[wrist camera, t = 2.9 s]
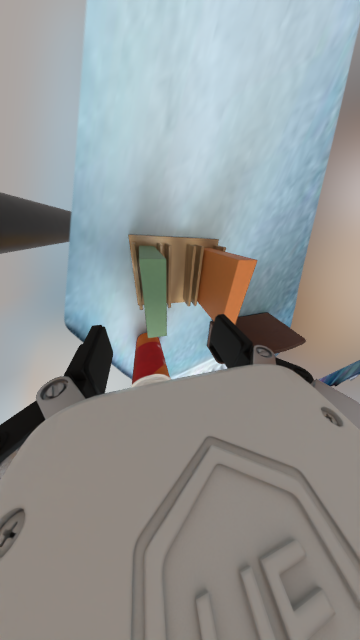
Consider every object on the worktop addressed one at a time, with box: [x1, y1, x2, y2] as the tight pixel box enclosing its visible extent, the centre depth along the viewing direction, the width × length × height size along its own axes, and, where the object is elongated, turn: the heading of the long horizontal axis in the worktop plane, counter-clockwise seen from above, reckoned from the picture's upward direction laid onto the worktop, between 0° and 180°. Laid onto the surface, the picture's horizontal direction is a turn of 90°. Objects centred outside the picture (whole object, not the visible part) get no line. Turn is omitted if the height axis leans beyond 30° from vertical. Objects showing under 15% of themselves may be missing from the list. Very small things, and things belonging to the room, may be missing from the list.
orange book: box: [197, 248, 257, 324], centre depth 23 cm, size 3×10×13 cm, turn 176°
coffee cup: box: [130, 333, 172, 388], centre depth 30 cm, size 8×8×15 cm
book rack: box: [128, 235, 226, 310], centre depth 26 cm, size 17×13×5 cm
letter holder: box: [207, 313, 306, 364], centre depth 37 cm, size 10×20×14 cm, turn 90°
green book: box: [139, 246, 167, 338], centre depth 21 cm, size 3×10×13 cm, turn 176°
